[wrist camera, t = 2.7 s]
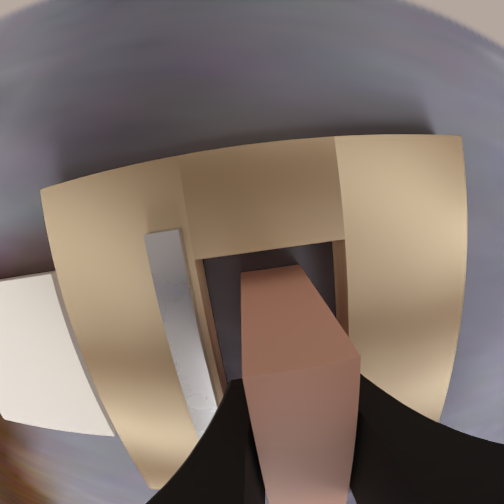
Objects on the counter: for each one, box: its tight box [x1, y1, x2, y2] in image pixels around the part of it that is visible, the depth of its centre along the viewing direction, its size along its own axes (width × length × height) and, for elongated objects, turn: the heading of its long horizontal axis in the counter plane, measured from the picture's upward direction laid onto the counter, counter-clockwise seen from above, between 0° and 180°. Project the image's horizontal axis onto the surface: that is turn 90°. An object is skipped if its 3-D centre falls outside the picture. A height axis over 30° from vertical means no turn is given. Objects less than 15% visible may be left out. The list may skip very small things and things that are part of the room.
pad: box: [0, 271, 117, 436], centre depth 11 cm, size 8×8×1 cm
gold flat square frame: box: [40, 134, 467, 489], centre depth 10 cm, size 14×14×2 cm
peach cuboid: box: [241, 264, 361, 504], centre depth 8 cm, size 6×2×6 cm, turn 8°
